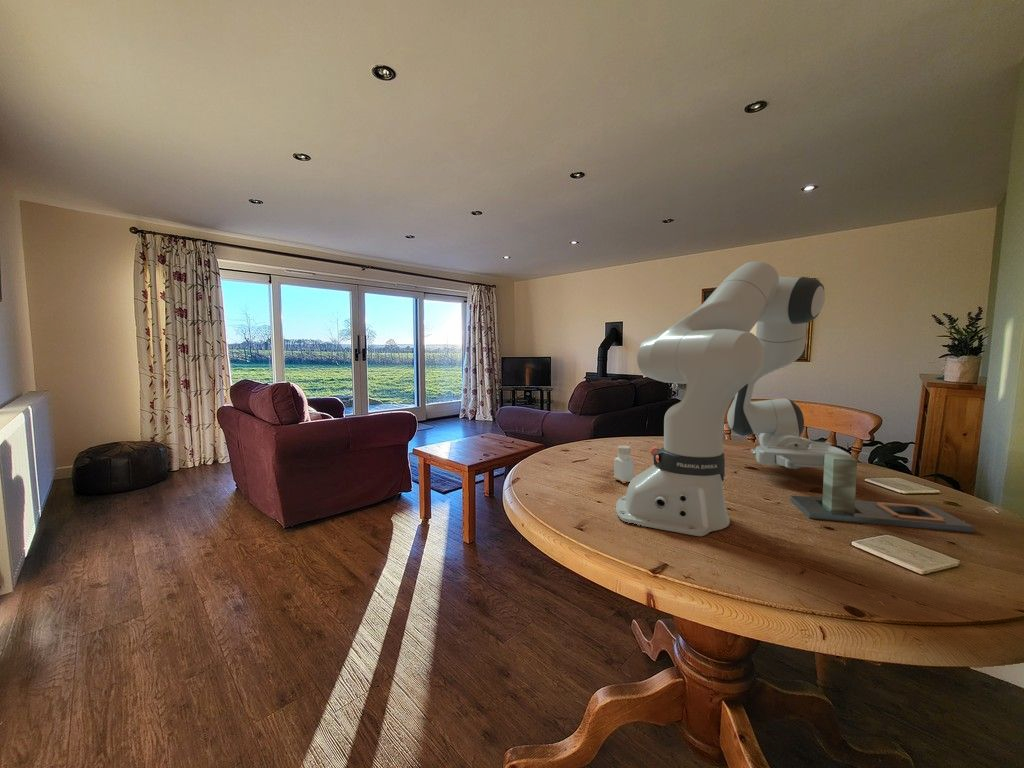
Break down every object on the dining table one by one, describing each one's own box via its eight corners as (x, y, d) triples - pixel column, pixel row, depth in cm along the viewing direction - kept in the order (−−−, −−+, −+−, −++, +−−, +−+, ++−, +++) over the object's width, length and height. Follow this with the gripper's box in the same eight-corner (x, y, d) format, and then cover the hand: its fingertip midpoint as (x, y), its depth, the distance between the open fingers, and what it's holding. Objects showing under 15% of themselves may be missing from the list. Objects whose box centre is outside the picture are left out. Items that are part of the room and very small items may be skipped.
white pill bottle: (634, 482, 104) (634, 447, 104) (622, 484, 103) (622, 449, 102) (625, 478, 108) (625, 444, 107) (613, 480, 107) (613, 445, 106)
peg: (831, 515, 82) (833, 458, 81) (822, 507, 86) (824, 454, 85) (854, 516, 81) (857, 460, 80) (844, 509, 84) (846, 455, 83)
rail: (809, 518, 80) (809, 511, 80) (790, 500, 90) (790, 494, 90) (973, 532, 73) (974, 525, 73) (933, 511, 82) (934, 504, 82)
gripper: (748, 438, 110) (764, 450, 97) (835, 442, 104) (865, 455, 91) (748, 460, 111) (763, 475, 97) (834, 465, 105) (863, 481, 91)
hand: (813, 465), depth 94 cm, fingers open, 8 cm apart
